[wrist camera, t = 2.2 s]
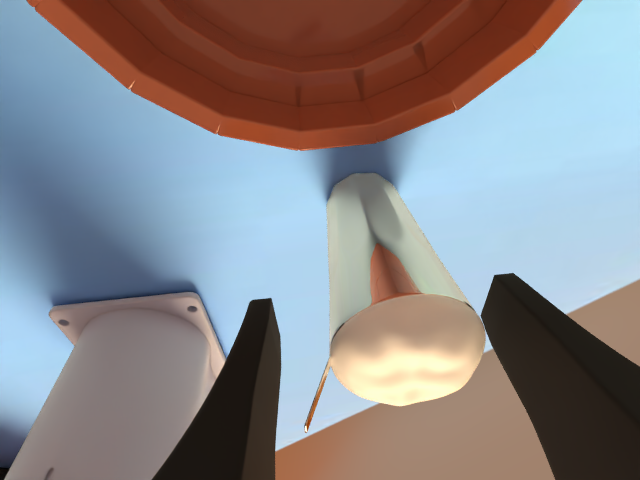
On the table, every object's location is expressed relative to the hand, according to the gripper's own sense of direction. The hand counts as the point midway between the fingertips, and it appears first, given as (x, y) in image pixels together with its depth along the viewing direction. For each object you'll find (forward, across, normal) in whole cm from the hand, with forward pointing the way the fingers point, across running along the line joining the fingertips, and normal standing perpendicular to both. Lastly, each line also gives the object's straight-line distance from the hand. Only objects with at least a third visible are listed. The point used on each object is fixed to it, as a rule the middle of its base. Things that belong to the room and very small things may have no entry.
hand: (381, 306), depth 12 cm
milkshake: (+6, 0, 0) cm, 7 cm away
